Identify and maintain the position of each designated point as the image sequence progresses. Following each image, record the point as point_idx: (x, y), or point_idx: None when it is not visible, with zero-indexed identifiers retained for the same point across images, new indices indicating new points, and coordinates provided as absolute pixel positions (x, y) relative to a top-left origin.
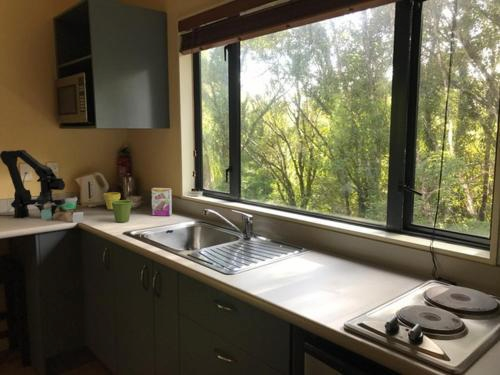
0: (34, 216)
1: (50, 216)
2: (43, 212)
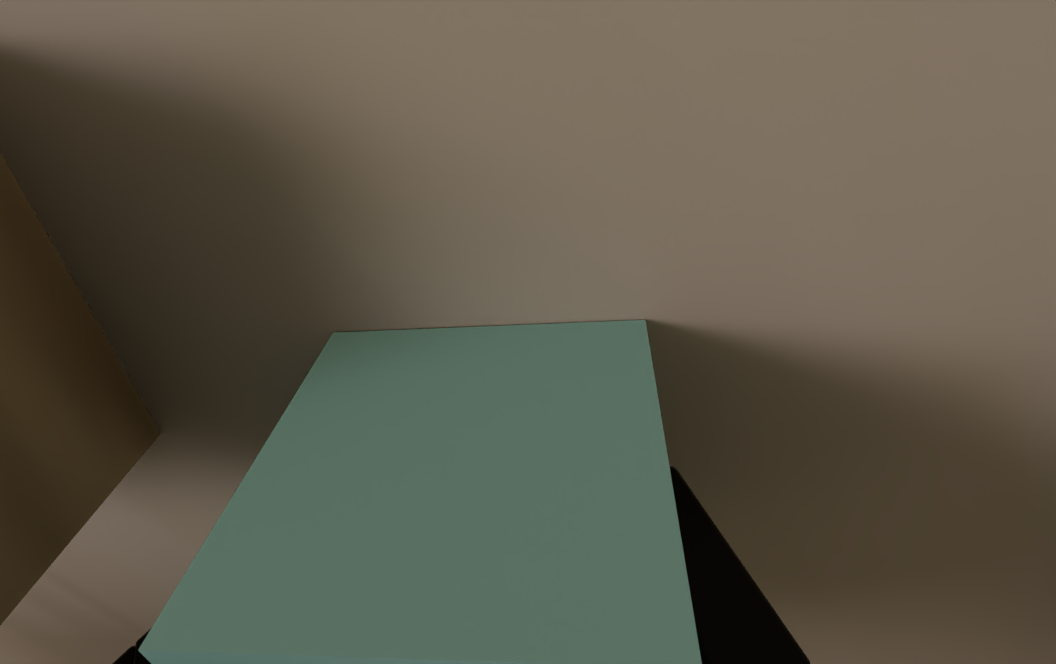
0: (997, 594)
1: (304, 403)
2: (549, 537)
